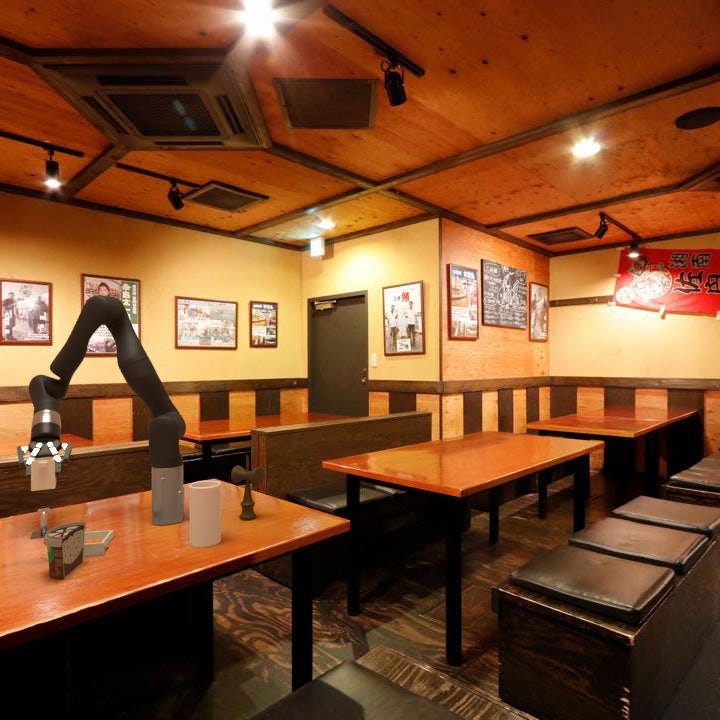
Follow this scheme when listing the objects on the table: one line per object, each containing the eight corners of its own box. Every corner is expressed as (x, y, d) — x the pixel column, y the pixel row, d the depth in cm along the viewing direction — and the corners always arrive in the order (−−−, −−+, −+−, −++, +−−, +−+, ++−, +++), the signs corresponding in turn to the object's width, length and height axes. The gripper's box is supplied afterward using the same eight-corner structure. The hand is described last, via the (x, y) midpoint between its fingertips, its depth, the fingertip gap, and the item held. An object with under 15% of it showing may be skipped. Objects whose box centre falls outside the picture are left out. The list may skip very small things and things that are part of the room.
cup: (192, 549, 133) (192, 488, 133) (187, 539, 140) (187, 482, 140) (223, 544, 137) (223, 485, 137) (217, 535, 144) (217, 479, 144)
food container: (60, 561, 125) (60, 521, 125) (85, 560, 126) (85, 520, 126) (32, 583, 113) (32, 538, 113) (60, 582, 113) (60, 537, 113)
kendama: (254, 523, 154) (254, 458, 155) (229, 519, 158) (229, 455, 159) (265, 517, 160) (265, 454, 160) (241, 513, 164) (241, 452, 164)
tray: (113, 541, 139) (113, 529, 139) (103, 555, 129) (103, 543, 129) (72, 544, 137) (72, 532, 137) (58, 559, 127) (58, 546, 127)
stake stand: (65, 532, 147) (64, 503, 147) (64, 539, 140) (64, 509, 140) (32, 537, 143) (32, 507, 143) (29, 545, 137) (29, 513, 137)
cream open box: (56, 484, 145) (55, 456, 145) (54, 489, 139) (54, 460, 139) (33, 486, 142) (32, 458, 142) (30, 492, 136) (30, 462, 136)
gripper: (16, 422, 144) (10, 471, 134) (73, 419, 151) (73, 466, 141) (18, 438, 149) (13, 487, 139) (74, 434, 156) (73, 481, 145)
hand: (43, 476), depth 140 cm, fingers closed on cream open box, 5 cm apart
